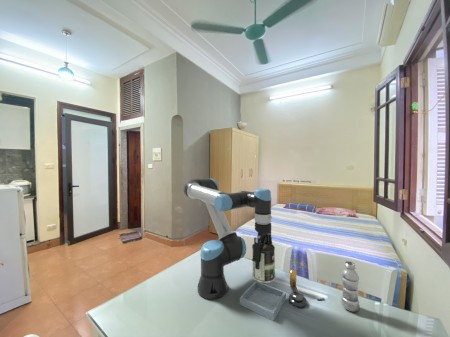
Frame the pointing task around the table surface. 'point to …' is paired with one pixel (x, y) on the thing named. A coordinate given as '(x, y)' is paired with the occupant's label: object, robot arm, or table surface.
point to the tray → (263, 299)
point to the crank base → (298, 304)
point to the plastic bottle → (350, 287)
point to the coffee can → (266, 264)
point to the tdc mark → (320, 299)
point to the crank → (295, 295)
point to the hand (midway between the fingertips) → (263, 270)
